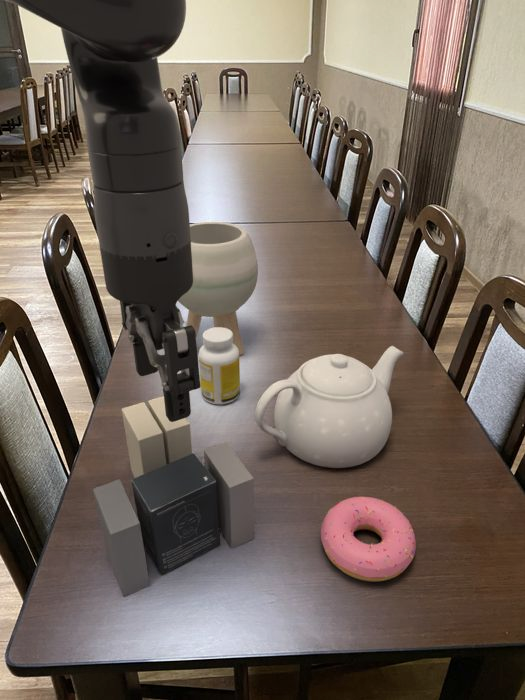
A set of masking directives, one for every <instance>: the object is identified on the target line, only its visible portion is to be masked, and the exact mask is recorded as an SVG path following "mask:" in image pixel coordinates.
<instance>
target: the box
mask: <svg viewBox="0 0 525 700" xmlns="http://www.w3.org/2000/svg"><path fill="white" fill-rule="evenodd" d="M130 481H131V487H132V492H133V498H134V499H133V500H134V504H135V505H134V506H135V510H136V516H137V518H138V520H139V522H140V527H141V533H142V539H143V545H144V549H145V551H146V552H147V554H148V556H149V557H150V559H151V561H152V563H153V565H154V566H155V568H156V570H157V572H158V574H159V575H161V576H162V575H165V574H167V573H168V572H170V571H172V570H174V569H176V568H177V567H180V566H182V565H184V564H185V563H187V562H189V561H192V560H193V559H195V558H197V557H198V556H200V555H202V554H204V553H206V552H208V551H210V550H212V549H214V548H216V547H217V546H220V545H221V534H220V528H219V520H218V506H217V493H216V481H215V479H214V478H213V476H212V475H211V474H210V473H209V472H208V470H207V469H206V468H205V464H203V463H202V462H201V460H200V459H199V458H198V457H197V456H196V454H194V453H193V452H192V454H190V455H188V456H185V457H183V458H181V459H178V460H176V461H174V462H171V463H169V464H167V465H164V466H162V467H160V468H157V469H155V470H153V471H150V472H148V473H146V474H143V475H141V476H139V477H136V478H134V477H133V478H131V480H130Z"/></svg>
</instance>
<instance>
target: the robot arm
mask: <svg viewBox="0 0 525 700" xmlns="http://www.w3.org/2000/svg"><path fill="white" fill-rule="evenodd" d="M3 1H5V2H8V3H12V4H14V5H16V6H18V7H20V8H22V9H24V10H25V11H28V12H30V13H31V14H33V15H35V16H37V17H39V18H41V19H43V20H45V21H47V22H49V23H50V24H53V25H54V26H57V27H58V28H60V30H61V35H62V39H63V44H64V47H65V52H66V56H67V59H68V64H69V67H70V71H71V75H72V78H73V83H74V87H75V90H76V92H77V96H78V99H79V102H80V105H81V106H80V107H81V110H82V115H83V119H84V126H85V128H84V129H85V140H86V147H87V154H88V161H89V167H90V173H91V180H92V183H93V184H92V186H93V187H92V188H93V210H94V211H93V212H94V213H93V214H94V220H95V226H96V233H97V239H98V245H99V251H100V252H99V253H100V256H101V257H100V258H101V263H102V264H101V266H102V270H103V277H104V284H105V288H106V292H107V293H108V294H109V295H110V296H111V297H112V298H113V299H115V300H117V301H119V305H120V312H121V320H122V322H121V325H122V327H123V329H124V330H125V331H127V332H128V335H127V336H128V340H129V342H130V343H131V344H132V349H133V356H134V357H133V358H134V363H135V370H136V372H137V374H138V375H139V376H140V377H145V376H149V375H152V374H155V373H157V372H158V374H159V377H160V381H161V387H162V391H163V392H162V393H163V396H164V402H165V411H166V417H167V418H168V420H169V421H170V422H175V421H178V420H181V419H184V418H186V419H187V418H188V417H190V416H191V414H192V409H191V397H190V396H191V395H190V392H191V391H195V390H198V389H201V382H200V370H199V353H198V344H197V337H196V332H195V329H194V327H193V326H192V325H189V326H186V325H185V326H183V325H184V320H183V316H182V312H181V310H180V308H179V307H178V306H177V303H178V302H179V301H178V300H179V299H180V298H181V297H182V296H183V295H184V294H186V293H187V292H188V291H189V290H190V289H191V287H192V285H193V268H192V252H191V237H190V224H191V223H190V211H189V203H188V198H187V194H186V189H185V180H184V169H183V155H182V153H183V152H182V138H181V129H180V124H179V119H178V115H177V113H176V110H175V109H174V107H173V106H172V105H171V103H170V102H169V101H168V100H167V98H166V97H165V94H164V91H163V86H162V79H161V74H160V65H159V60H158V58H159V57H161V56H162V55H164V54H166V53H167V52H168V51H169V50H170V49H171V48H172V47H173V46H174V45H175V44H176V42H177V41H178V39H179V38H180V36H181V34H182V31H183V29H184V25H185V22H186V16H187V0H3ZM160 350H163V352H164V354H159V353H158V351H160Z"/></svg>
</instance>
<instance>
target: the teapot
mask: <svg viewBox="0 0 525 700" xmlns="http://www.w3.org/2000/svg"><path fill="white" fill-rule="evenodd" d="M404 354H405V353H404V352H403V351H402V350H400V349H399V348H397V347H396V346H394V345H391V346H389V347H388V348H387V349H386V350H385V351H384V352H383V354H382V355H381V357H380V358H379V359H378V361H377V363H376V364H375V365H374V366H373V368H372V369H371V368H370V367H369V366H368V365H366V364H365V363H363V362H362V361H360V360H358V359H356V358H354V357H352V356H348V355H344V353H343V354H342V353H333V354H325V355H320V356H317V357H313V358H312V359H309V360H307V361H305V362H304V363H303V364H301V365H300V367H299V368H298V369H296V370H295V371H294V372H293V373H292V374H291V375H289V376H288V378H286V379H281V380H278V381H276V382H274V383H272V384H271V385H270V386H269V387H268V388H267V389H265V391H264V392H263V393H262V394H261V397H260V398H259V400H258V402H257V404H256V407H255V411H254V420H255V422H256V424H257V426H258V427H259V428H260V430H261V431H263V432H264V433H266V434H267V435H269V436H272V437H274V438H276V439H277V442H278V444H279V445H280V446H281V447H285V448H286V450H288V451H289V452H290V453H291V454H292V455H293V456H296V457H297V458H298V459H300V460H302V461H304V462H306V463H309V464H311V465H315V466H318V467H322V468H329V469H330V468H331V469H346V468H351V467H356V466H359V465H362V464H364V463H366V462H368V461H370V460H372V459H373V458H374V457H376V456H377V455H378V454H379V453H380V452H381V451H382V449H383V448H384V447H385V445H386V443H387V442H388V439H389V436H390V434H391V429H392V426H393V425H392V424H393V409H392V403H391V400H390V397H389V391H390V387H391V382H392V377H393V372H394V369H395V365H396V363H397V361H398V360H399V359H400V358H402V356H404ZM276 396H277V397H276ZM275 397H276V401H275V406H274V412H273V413H274V414H273V415H274V416H273V417H274V418H273V419H274V425H275V426H274V427H272V426H270V425H268V424H267V423H266V422H265V419H264V417H265V413H266V410H267V408H268V406H269V404H270V403H271V402H272V400H273V399H274V398H275Z"/></svg>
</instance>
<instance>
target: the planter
mask: <svg viewBox="0 0 525 700" xmlns="http://www.w3.org/2000/svg"><path fill="white" fill-rule="evenodd" d="M190 237H191V252H192V268H193V285H192V287H191V289H190V290H189V291H188V292H187V293H186V294H184V295H183V296H182V297H181V298H180V299H179V300H178V301H177V302H178V303H179V304H180V305H181V306H182V307H184V308H185V309H186V310H188V312H187V319H186V325H185V326H189V325H192V326H193V327H194V329H195V332H196V338H197V337H198V334H199V330H200V326H201V323H202V317H206V318H212V320H213V326H214V327H213V328H215V327H222V328H227V329H229V330H231V331H232V333H233V344H234V345H236V347H237V348H238V350H239V356H242V355H243V354H244V353H245V350H244V344H243V340H242V339H243V338H242V334H241V331H240V326H239V321H238V316H237V311H238V310H239V309H241V307H243V306H244V305H245V304H246V303H247V302H248V301H249V299H250V298H251V296H252V295H253V293H254V291H255V289H256V287H257V283H258V275H259V264H258V258H257V257H258V256H257V253H256V249H255V246H254V244H253V241H252V238H251V237H250V234H249V233H248V231H247V229H245V228H244V227H242V226H240V225H239V224H236V223H230V222H224V221H202V222H201V221H200V222H195V223H190Z"/></svg>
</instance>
